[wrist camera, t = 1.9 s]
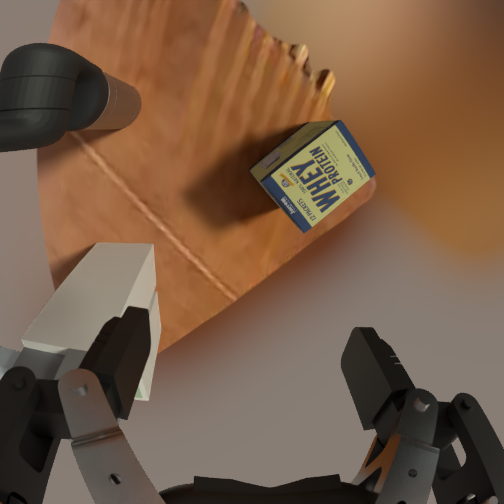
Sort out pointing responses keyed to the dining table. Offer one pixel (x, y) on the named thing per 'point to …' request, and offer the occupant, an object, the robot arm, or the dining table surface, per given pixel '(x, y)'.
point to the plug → (31, 361)
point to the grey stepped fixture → (98, 305)
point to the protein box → (313, 171)
